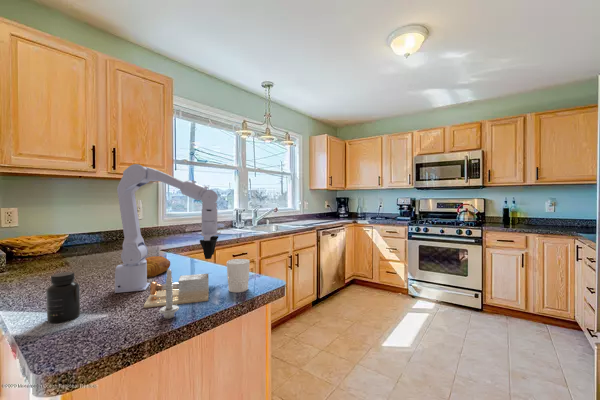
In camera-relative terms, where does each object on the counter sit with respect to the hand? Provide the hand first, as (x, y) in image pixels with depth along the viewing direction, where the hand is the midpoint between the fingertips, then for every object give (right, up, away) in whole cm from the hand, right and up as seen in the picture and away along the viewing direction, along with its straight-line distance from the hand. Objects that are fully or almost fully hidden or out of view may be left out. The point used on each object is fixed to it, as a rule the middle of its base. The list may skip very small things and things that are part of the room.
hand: (209, 256), depth 106 cm
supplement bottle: (-29, -11, -31) cm, 44 cm away
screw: (-1, -10, -30) cm, 32 cm away
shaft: (-8, -9, -16) cm, 19 cm away
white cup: (+13, -10, -8) cm, 18 cm away
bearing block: (-5, -10, -15) cm, 19 cm away
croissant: (-30, -10, +15) cm, 35 cm away
